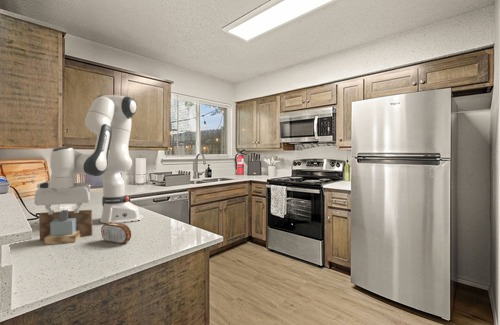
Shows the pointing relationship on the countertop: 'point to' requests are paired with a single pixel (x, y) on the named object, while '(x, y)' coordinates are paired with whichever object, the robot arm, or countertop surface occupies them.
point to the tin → (116, 232)
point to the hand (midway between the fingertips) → (64, 213)
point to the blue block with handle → (63, 225)
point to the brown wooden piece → (81, 230)
